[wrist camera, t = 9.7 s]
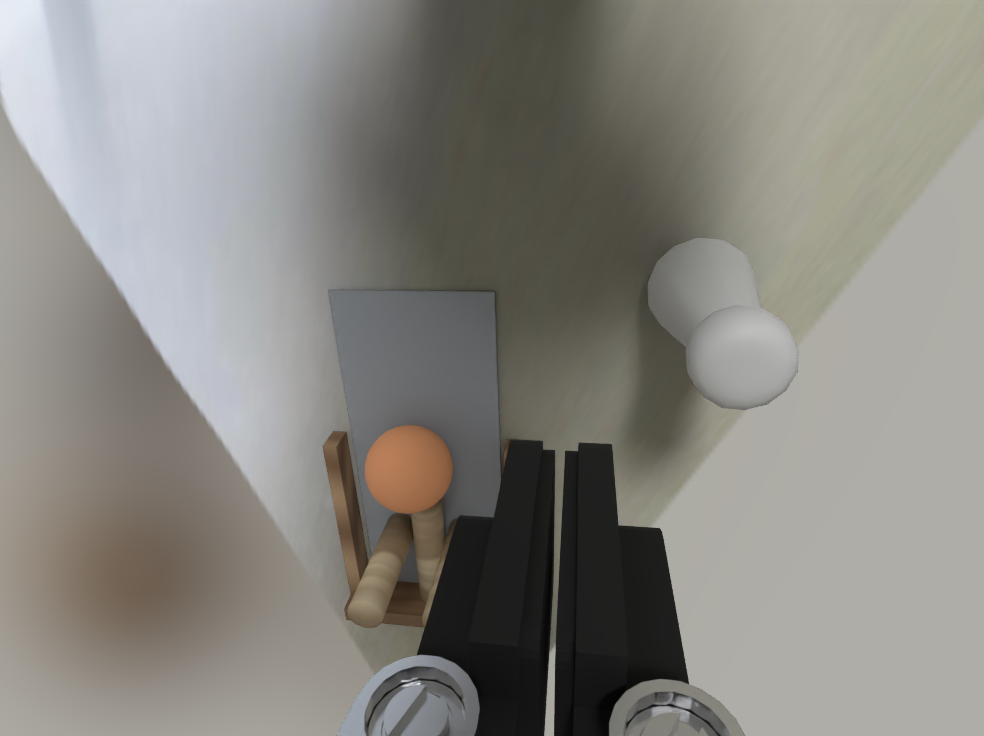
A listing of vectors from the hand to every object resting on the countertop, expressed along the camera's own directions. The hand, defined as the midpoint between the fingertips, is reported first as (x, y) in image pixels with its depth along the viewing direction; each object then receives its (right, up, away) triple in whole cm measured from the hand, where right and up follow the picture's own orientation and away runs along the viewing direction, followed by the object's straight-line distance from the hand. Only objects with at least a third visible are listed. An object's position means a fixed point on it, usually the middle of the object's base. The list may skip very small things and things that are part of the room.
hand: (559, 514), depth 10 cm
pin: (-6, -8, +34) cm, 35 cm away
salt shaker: (+11, +8, +25) cm, 28 cm away
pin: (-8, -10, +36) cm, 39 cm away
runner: (-6, -4, +33) cm, 34 cm away
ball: (-7, -4, +30) cm, 31 cm away
